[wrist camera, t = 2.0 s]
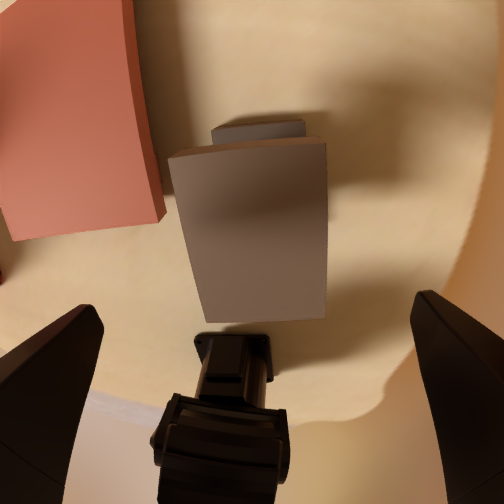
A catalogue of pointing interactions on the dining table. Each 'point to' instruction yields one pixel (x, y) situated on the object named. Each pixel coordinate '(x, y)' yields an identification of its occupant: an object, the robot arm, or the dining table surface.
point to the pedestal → (256, 221)
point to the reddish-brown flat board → (74, 120)
